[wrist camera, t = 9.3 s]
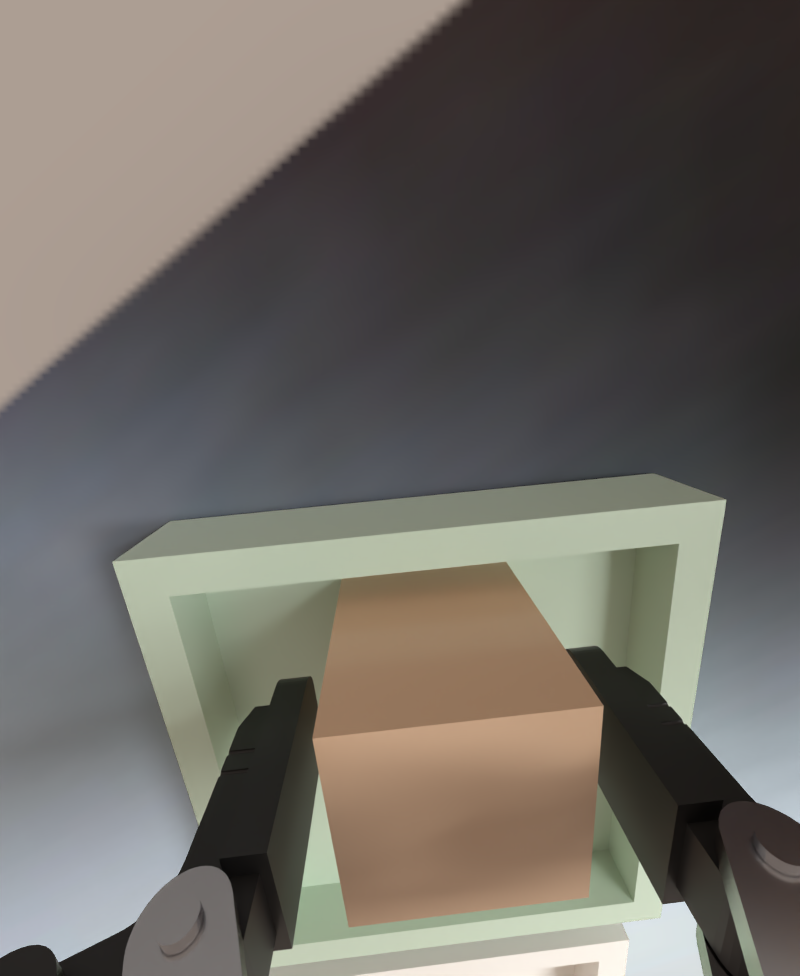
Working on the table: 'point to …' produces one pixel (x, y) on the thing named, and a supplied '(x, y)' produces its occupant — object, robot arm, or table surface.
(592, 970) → the tray
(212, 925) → the robot arm
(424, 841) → the tan boxy piece
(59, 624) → the table surface
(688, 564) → the tray
